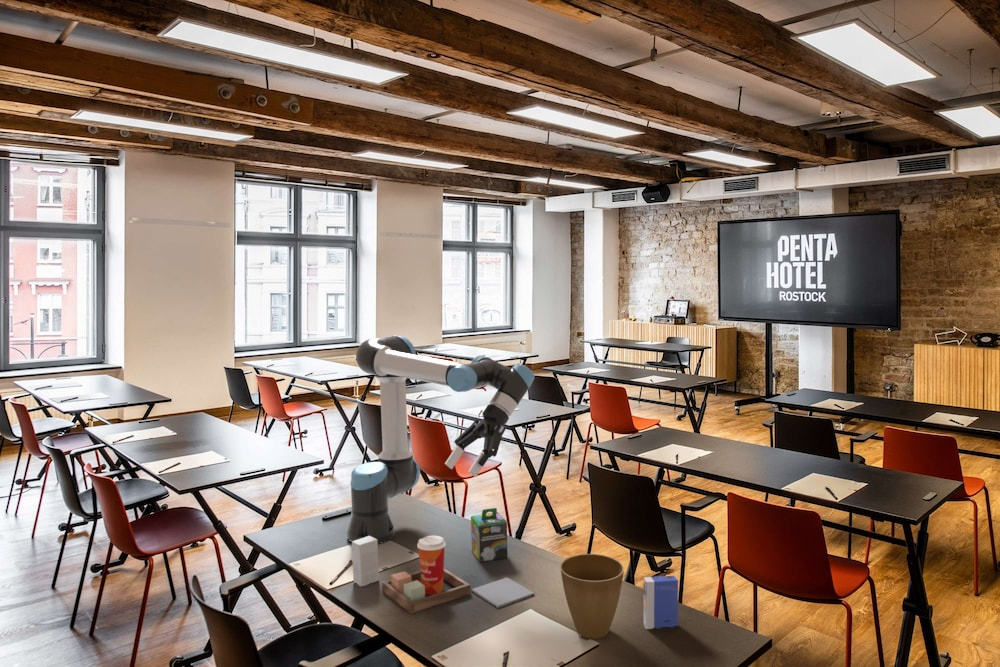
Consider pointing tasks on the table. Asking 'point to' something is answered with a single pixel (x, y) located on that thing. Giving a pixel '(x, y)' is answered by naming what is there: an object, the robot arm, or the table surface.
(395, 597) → the walnut frame
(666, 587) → the blue carton
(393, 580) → the terracotta block
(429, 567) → the paper cup
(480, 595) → the grey pad
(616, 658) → the table surface
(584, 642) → the table surface
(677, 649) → the table surface
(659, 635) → the table surface
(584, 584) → the plant pot
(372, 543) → the skincare box
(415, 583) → the sage block
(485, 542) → the chalk box
